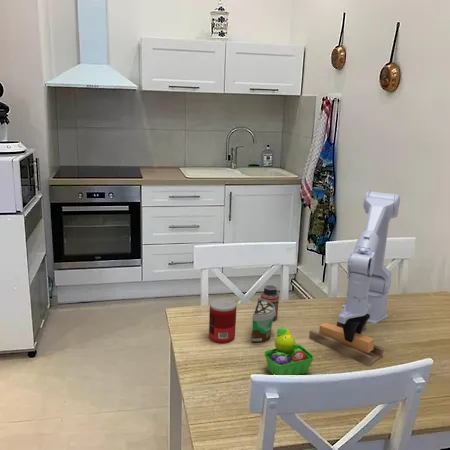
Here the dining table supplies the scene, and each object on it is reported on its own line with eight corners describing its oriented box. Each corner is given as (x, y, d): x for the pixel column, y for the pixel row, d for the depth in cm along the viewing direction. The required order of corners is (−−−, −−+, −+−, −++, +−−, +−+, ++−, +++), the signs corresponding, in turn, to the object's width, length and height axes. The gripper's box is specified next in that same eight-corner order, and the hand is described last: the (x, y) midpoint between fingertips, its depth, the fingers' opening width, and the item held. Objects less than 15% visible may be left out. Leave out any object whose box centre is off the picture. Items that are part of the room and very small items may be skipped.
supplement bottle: (267, 325, 149) (270, 292, 146) (255, 318, 153) (257, 286, 150) (280, 320, 152) (283, 288, 149) (268, 313, 157) (270, 282, 154)
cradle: (308, 339, 140) (309, 330, 140) (323, 332, 145) (324, 323, 145) (368, 367, 126) (370, 357, 126) (382, 358, 132) (383, 348, 131)
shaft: (319, 335, 140) (319, 325, 139) (325, 332, 142) (325, 322, 141) (367, 353, 129) (368, 342, 128) (373, 349, 131) (374, 338, 130)
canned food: (240, 337, 140) (241, 303, 137) (222, 346, 134) (223, 311, 132) (221, 328, 145) (223, 296, 142) (203, 337, 139) (204, 303, 137)
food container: (271, 348, 135) (274, 316, 132) (250, 345, 136) (252, 314, 133) (275, 329, 146) (278, 299, 144) (256, 326, 147) (258, 297, 145)
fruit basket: (275, 383, 118) (278, 343, 115) (259, 365, 125) (262, 327, 123) (313, 374, 122) (317, 336, 119) (295, 358, 130) (298, 321, 127)
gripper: (358, 284, 138) (353, 326, 141) (330, 296, 128) (325, 341, 131) (380, 291, 133) (374, 334, 136) (353, 305, 123) (347, 351, 126)
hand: (352, 338), depth 133 cm, fingers closed on shaft, 3 cm apart
